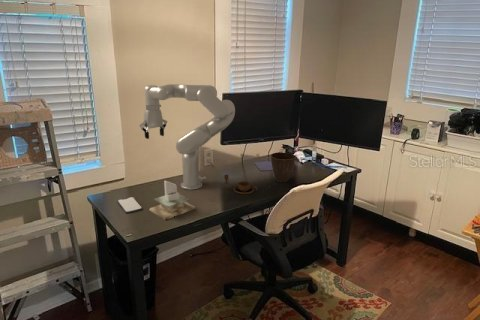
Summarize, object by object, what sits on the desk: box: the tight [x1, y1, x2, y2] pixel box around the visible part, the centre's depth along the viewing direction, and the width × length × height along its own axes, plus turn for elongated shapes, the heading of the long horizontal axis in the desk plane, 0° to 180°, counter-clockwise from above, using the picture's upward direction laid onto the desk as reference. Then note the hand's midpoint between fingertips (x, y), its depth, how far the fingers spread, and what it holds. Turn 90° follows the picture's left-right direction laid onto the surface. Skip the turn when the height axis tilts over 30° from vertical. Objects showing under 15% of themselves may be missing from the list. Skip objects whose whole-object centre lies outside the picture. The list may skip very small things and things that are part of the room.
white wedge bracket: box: [163, 180, 180, 201], centre depth 181 cm, size 4×10×9 cm, turn 128°
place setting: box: [224, 174, 258, 195], centre depth 212 cm, size 18×20×6 cm
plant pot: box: [270, 151, 296, 183], centre depth 222 cm, size 15×15×16 cm
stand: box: [149, 193, 196, 221], centre depth 183 cm, size 18×14×6 cm
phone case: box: [116, 196, 143, 214], centre depth 187 cm, size 9×2×16 cm
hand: (154, 137), depth 210 cm, fingers open, 9 cm apart
